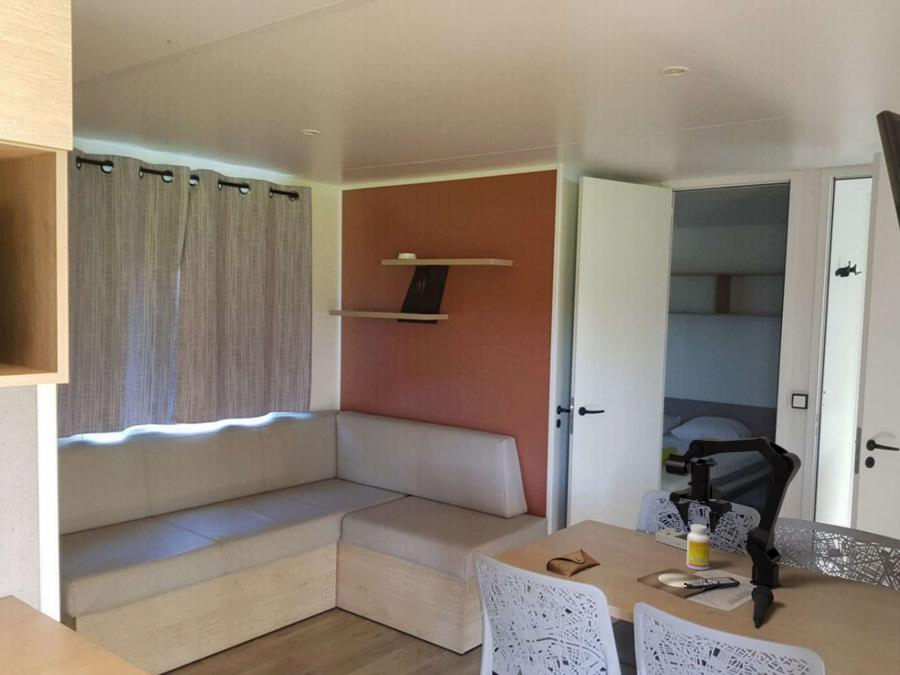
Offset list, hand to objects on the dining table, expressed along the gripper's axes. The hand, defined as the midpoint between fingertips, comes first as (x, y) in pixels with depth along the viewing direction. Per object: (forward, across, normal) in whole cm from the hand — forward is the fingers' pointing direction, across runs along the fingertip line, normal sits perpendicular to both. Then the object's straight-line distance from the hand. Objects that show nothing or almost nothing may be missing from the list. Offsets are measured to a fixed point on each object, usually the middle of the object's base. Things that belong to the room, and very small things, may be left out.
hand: (699, 529), depth 228 cm
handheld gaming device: (+12, +18, -15) cm, 26 cm away
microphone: (+13, -30, +18) cm, 37 cm away
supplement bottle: (+12, 0, 0) cm, 12 cm away
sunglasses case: (+12, +22, +32) cm, 41 cm away
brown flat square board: (+12, -5, +17) cm, 21 cm away
